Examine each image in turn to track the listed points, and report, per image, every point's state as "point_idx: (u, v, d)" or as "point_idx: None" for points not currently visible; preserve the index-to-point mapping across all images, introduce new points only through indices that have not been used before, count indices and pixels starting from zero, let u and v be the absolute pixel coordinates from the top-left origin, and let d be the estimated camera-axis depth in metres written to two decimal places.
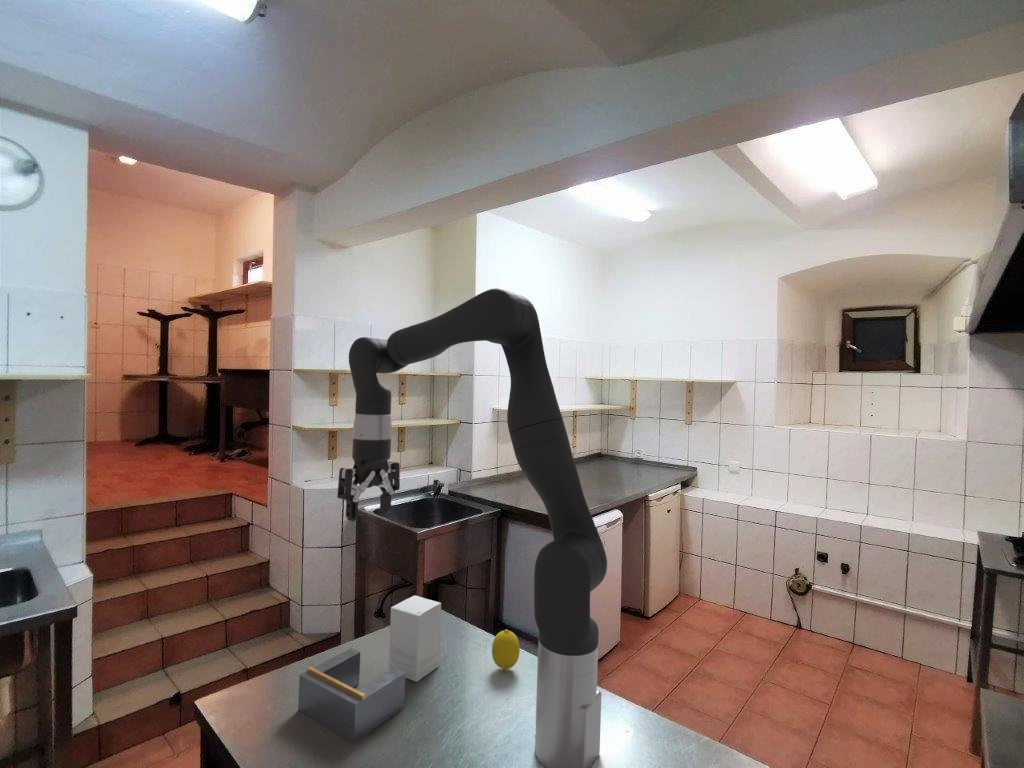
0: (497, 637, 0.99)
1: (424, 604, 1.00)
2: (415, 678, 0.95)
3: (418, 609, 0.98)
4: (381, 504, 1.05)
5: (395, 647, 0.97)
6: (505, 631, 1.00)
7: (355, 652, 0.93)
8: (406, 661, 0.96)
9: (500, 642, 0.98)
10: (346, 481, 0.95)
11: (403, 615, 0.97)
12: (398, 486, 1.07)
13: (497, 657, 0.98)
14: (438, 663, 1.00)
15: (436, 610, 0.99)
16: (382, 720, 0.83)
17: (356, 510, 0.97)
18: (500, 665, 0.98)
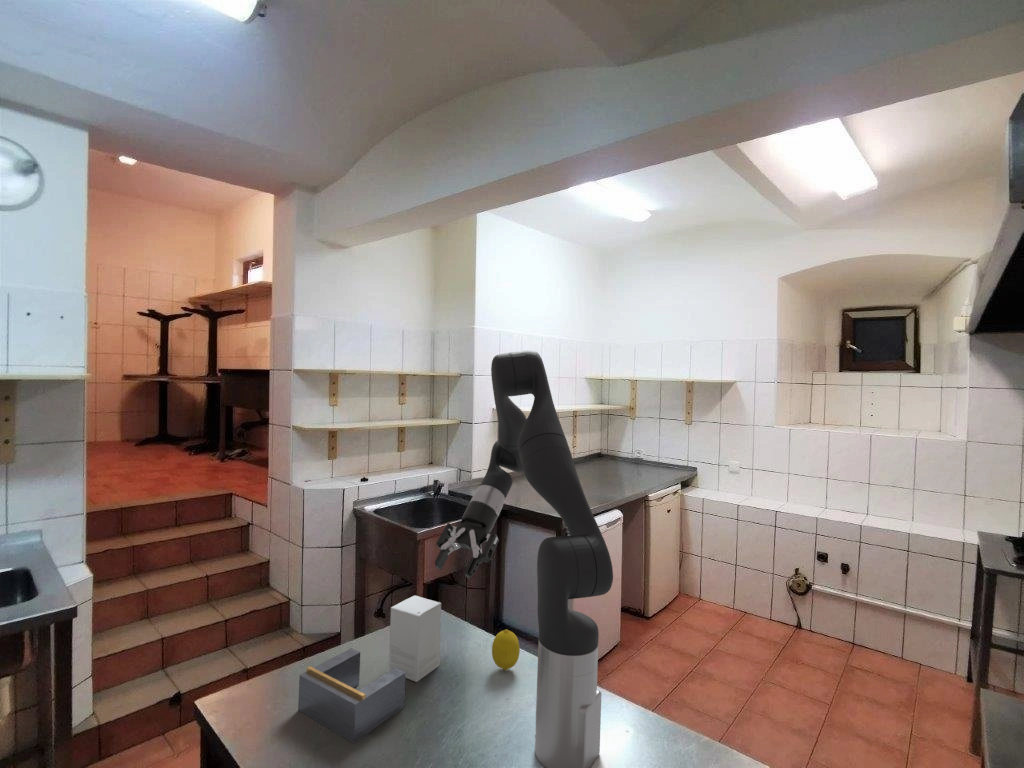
0: (497, 637, 0.99)
1: (424, 604, 1.00)
2: (414, 678, 0.95)
3: (418, 609, 0.98)
4: None
5: (395, 647, 0.97)
6: (505, 631, 1.00)
7: (355, 652, 0.93)
8: (406, 661, 0.96)
9: (500, 642, 0.98)
10: None
11: (403, 615, 0.97)
12: (485, 553, 1.08)
13: (497, 657, 0.98)
14: (438, 663, 1.00)
15: (436, 610, 0.99)
16: (382, 720, 0.83)
17: (440, 556, 1.12)
18: (500, 665, 0.98)
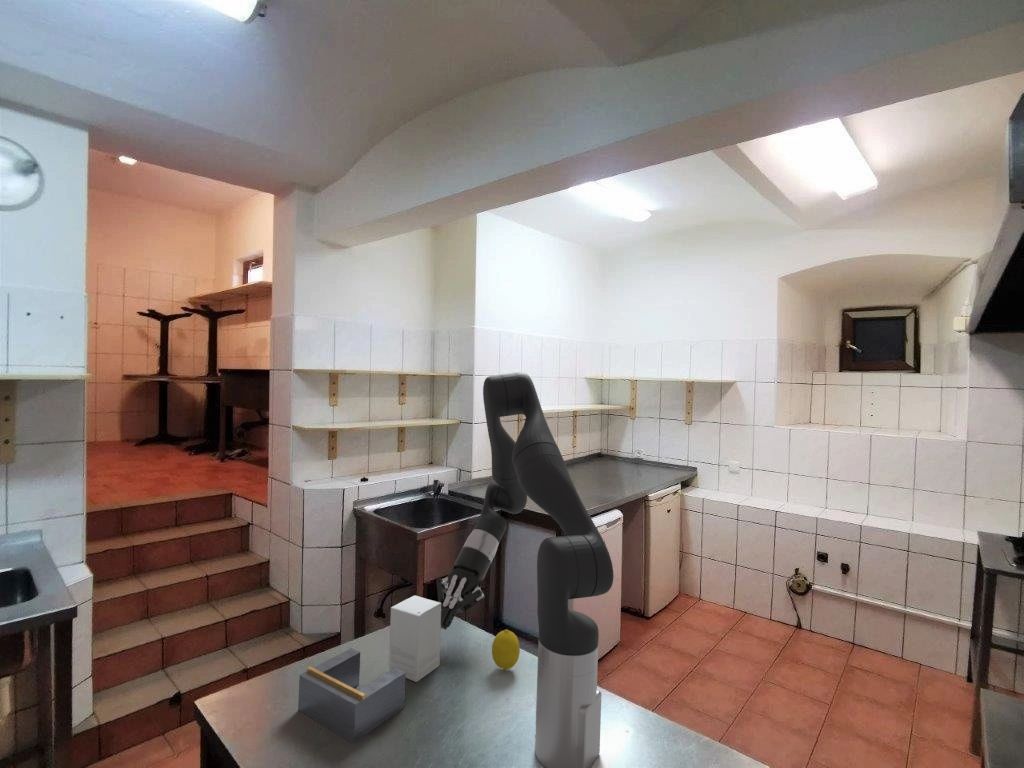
0: (497, 637, 0.99)
1: (424, 604, 1.00)
2: (414, 678, 0.95)
3: (418, 609, 0.98)
4: None
5: (395, 647, 0.97)
6: (505, 631, 1.00)
7: (355, 652, 0.93)
8: (406, 661, 0.96)
9: (500, 642, 0.98)
10: (437, 588, 1.12)
11: (403, 615, 0.97)
12: (460, 605, 1.07)
13: (497, 657, 0.98)
14: (438, 663, 1.00)
15: (436, 610, 0.99)
16: (382, 720, 0.83)
17: (442, 614, 1.07)
18: (500, 665, 0.98)
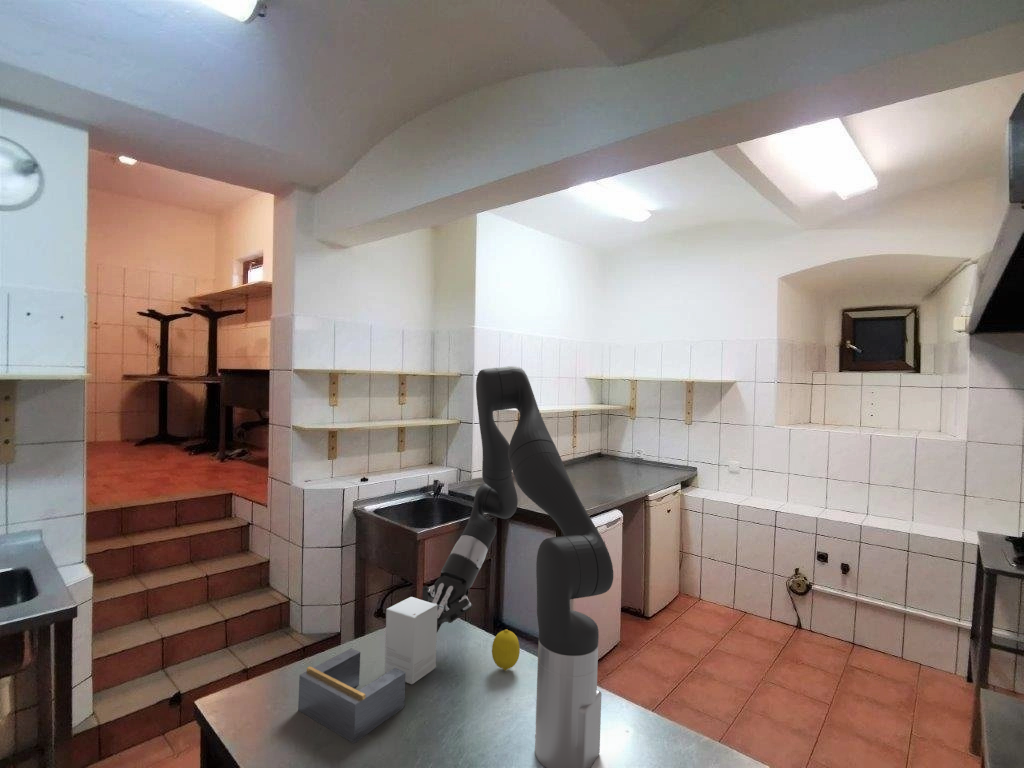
0: (497, 637, 0.99)
1: (420, 606, 0.99)
2: (410, 681, 0.94)
3: (413, 610, 0.97)
4: None
5: (390, 648, 0.96)
6: (505, 631, 1.00)
7: (355, 652, 0.93)
8: (401, 663, 0.95)
9: (500, 642, 0.98)
10: None
11: (398, 616, 0.96)
12: (446, 615, 1.03)
13: (497, 657, 0.98)
14: (434, 665, 0.99)
15: (433, 611, 0.99)
16: (382, 720, 0.83)
17: None
18: (500, 665, 0.98)
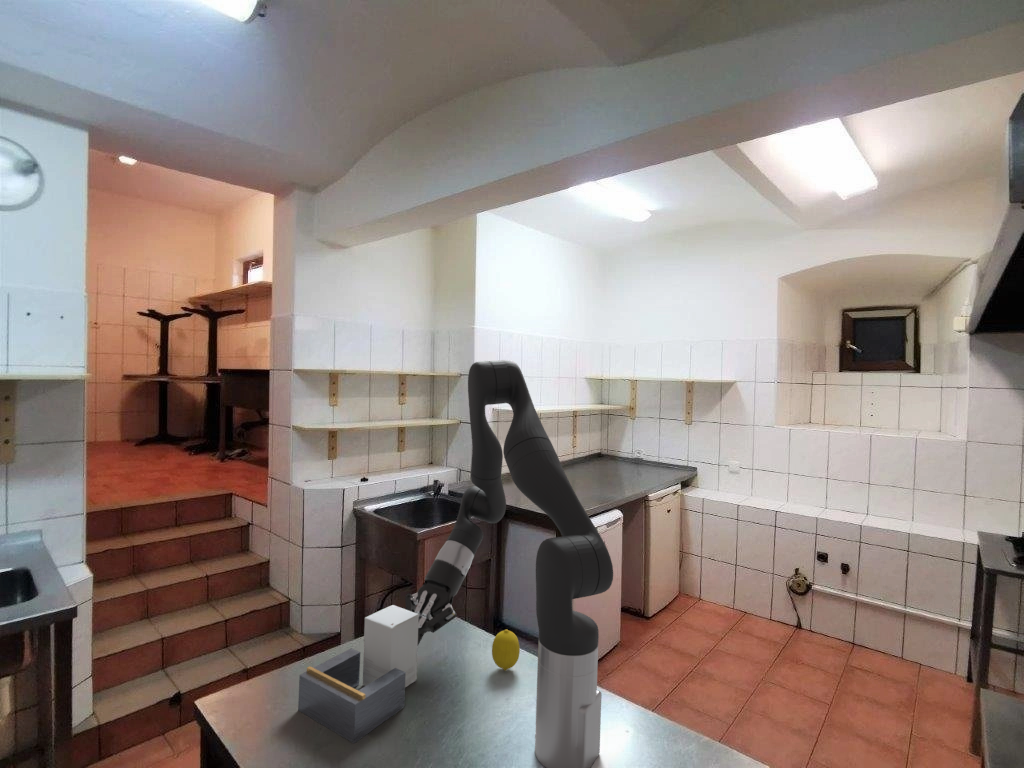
0: (497, 637, 0.99)
1: (400, 615, 0.94)
2: None
3: (392, 620, 0.92)
4: None
5: (368, 659, 0.92)
6: (505, 631, 1.00)
7: (355, 652, 0.93)
8: (379, 675, 0.91)
9: (500, 642, 0.98)
10: None
11: (376, 626, 0.92)
12: (429, 624, 0.98)
13: (497, 657, 0.98)
14: (415, 678, 0.95)
15: (413, 621, 0.94)
16: (382, 720, 0.83)
17: None
18: (500, 665, 0.98)
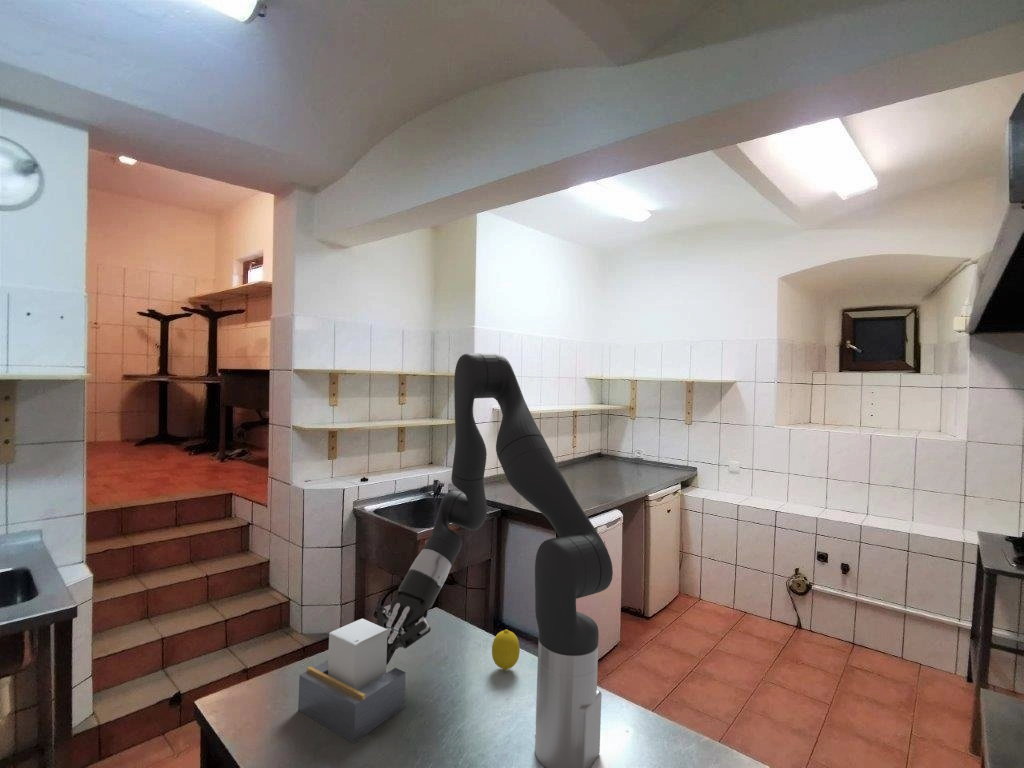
0: (497, 637, 0.99)
1: (367, 630, 0.88)
2: None
3: (358, 636, 0.86)
4: None
5: None
6: (505, 631, 1.00)
7: None
8: None
9: (500, 642, 0.98)
10: None
11: (340, 642, 0.85)
12: (400, 639, 0.92)
13: (497, 657, 0.98)
14: None
15: (381, 637, 0.88)
16: (382, 720, 0.83)
17: None
18: (500, 665, 0.98)
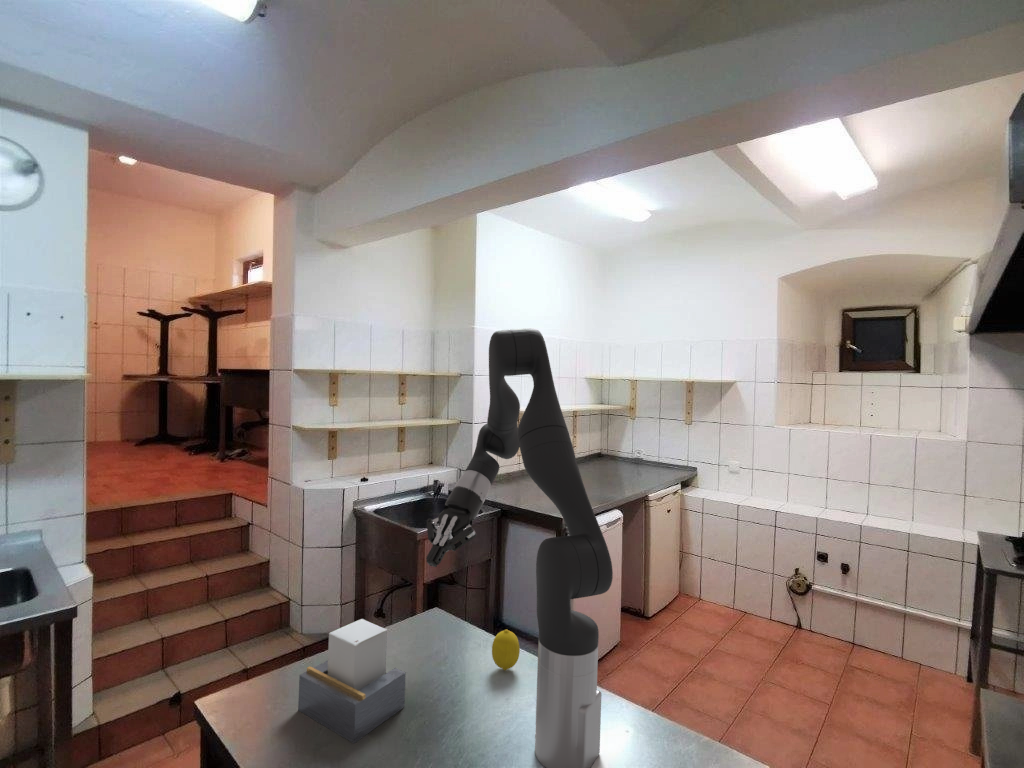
0: (497, 637, 0.99)
1: (367, 630, 0.88)
2: None
3: (357, 636, 0.86)
4: None
5: None
6: (505, 631, 1.00)
7: None
8: None
9: (500, 642, 0.98)
10: None
11: (340, 643, 0.85)
12: (451, 542, 1.04)
13: (497, 657, 0.98)
14: None
15: (380, 637, 0.88)
16: (382, 720, 0.83)
17: (432, 552, 1.04)
18: (500, 665, 0.98)
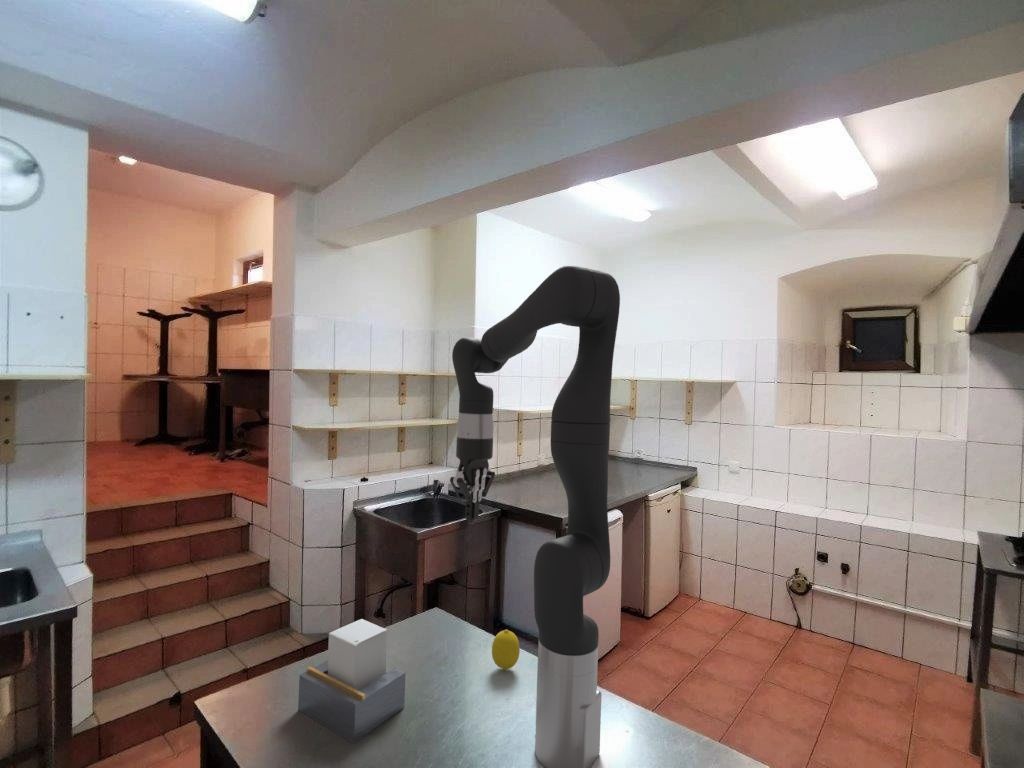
0: (497, 637, 0.99)
1: (367, 630, 0.88)
2: None
3: (357, 636, 0.86)
4: None
5: None
6: (505, 631, 1.00)
7: None
8: None
9: (500, 642, 0.98)
10: (462, 489, 0.98)
11: (340, 643, 0.85)
12: (485, 493, 1.05)
13: (497, 657, 0.98)
14: None
15: (380, 637, 0.88)
16: (382, 720, 0.83)
17: (475, 510, 1.02)
18: (500, 665, 0.98)
